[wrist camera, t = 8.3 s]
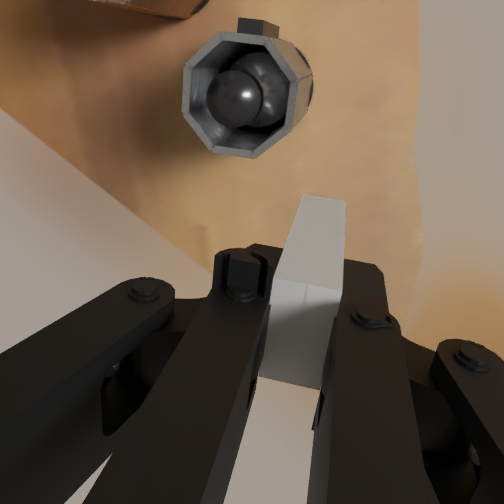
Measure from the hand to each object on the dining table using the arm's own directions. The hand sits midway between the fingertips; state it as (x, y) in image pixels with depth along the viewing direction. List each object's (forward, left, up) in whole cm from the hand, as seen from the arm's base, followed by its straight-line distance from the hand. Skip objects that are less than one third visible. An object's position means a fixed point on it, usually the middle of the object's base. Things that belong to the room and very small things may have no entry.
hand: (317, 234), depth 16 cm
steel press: (-8, +2, -34) cm, 35 cm away
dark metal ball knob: (-8, +2, -29) cm, 30 cm away
